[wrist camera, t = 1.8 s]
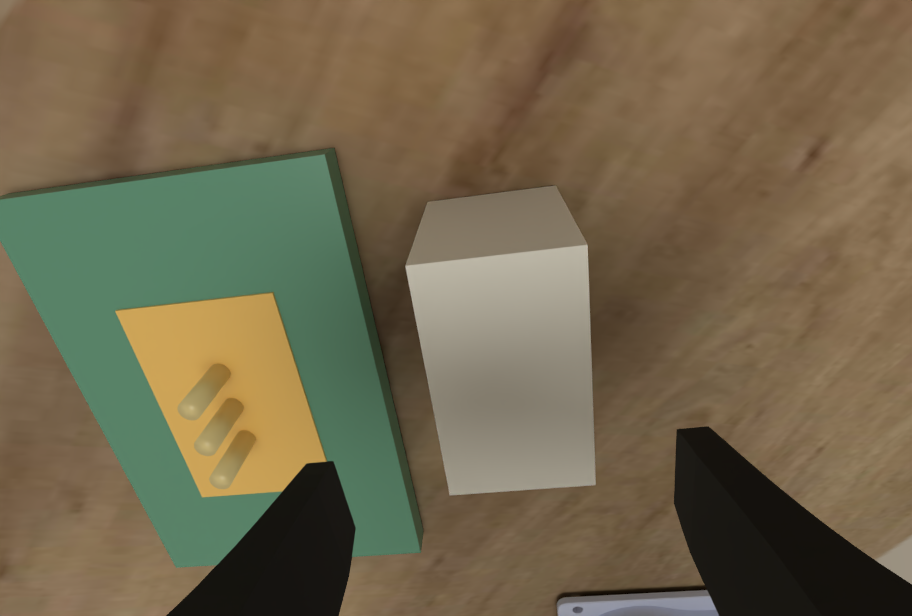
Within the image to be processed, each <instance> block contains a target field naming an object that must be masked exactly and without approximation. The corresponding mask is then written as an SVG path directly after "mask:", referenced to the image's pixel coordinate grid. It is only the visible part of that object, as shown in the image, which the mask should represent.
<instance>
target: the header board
mask: <svg viewBox="0 0 912 616" xmlns="http://www.w3.org/2000/svg"><path fill="white" fill-rule="evenodd" d="M0 241H1V243H2V245H3V247H4V249H5V251H6V252H7V254H8V256H9V258H10V260H11V262H12V264H13V265H14V267H15V269H16V271H17V273H18V275H19V277H20V278H21V280H22V282H23V284H24V286H25V288H26V290H27V291H28V293H29V295H30V297H31V299H32V301H33V303H34V304H35V306H36V308H37V310H38V312H39V314H40V316H41V317H42V319H43V321H44V323H45V325H46V327H47V329H48V330H49V332H50V334H51V336H52V338H53V340H54V342H55V343H56V345H57V347H58V349H59V351H60V353H61V355H62V356H63V358H64V360H65V362H66V364H67V366H68V368H69V369H70V371H71V373H72V375H73V377H74V379H75V381H76V382H77V384H78V386H79V388H80V390H81V392H82V394H83V396H84V397H85V399H86V401H87V403H88V405H89V407H90V409H91V410H92V412H93V414H94V416H95V418H96V420H97V422H98V423H99V425H100V427H101V429H102V431H103V433H104V435H105V436H106V438H107V440H108V442H109V444H110V446H111V448H112V449H113V451H114V453H115V455H116V457H117V459H118V461H119V462H120V464H121V466H122V468H123V470H124V472H125V474H126V475H127V477H128V479H129V481H130V483H131V485H132V487H133V488H134V490H135V492H136V494H137V496H138V498H139V500H140V501H141V503H142V505H143V507H144V509H145V511H146V513H147V514H148V516H149V518H150V520H151V522H152V524H153V526H154V527H155V529H156V531H157V533H158V535H159V537H160V539H161V540H162V542H163V544H164V546H165V548H166V550H167V552H168V553H169V555H170V557H171V559H172V561H173V563H174V565H175V566H176V568H177V567H193V566H209V565H218V563H219V562H220V561H221V560H222V559H223V558H224V557H225V556H226V555H227V554H228V553H229V552H230V551H231V550H232V549H233V548H234V547H235V546H236V544H237V543H238V542H239V541H240V540H241V539H242V538H243V537H244V535H245V534H246V533H247V532H248V531H249V530H250V529H251V527H252V526H253V525H254V524H255V523H256V522H257V521H258V519H259V518H260V517H261V516H262V515H263V514H264V513H265V511H266V510H267V509H268V508H269V507H270V506H271V504H272V503H273V502H274V501H275V500H276V498H277V497H278V496H279V495H280V494H281V493H282V491H283V490H284V489H285V488H286V487H287V485H288V484H289V483H290V482H291V481H292V480H293V478H294V477H295V476H296V475H297V474H298V473H299V471H300V470H301V469H302V468H303V467H304V466H305V465H306V464H307V463H316V462H327V461H334V464H335V467H336V470H337V473H338V476H339V479H340V482H341V485H342V488H343V491H344V494H345V497H346V500H347V503H348V506H349V509H350V512H351V515H352V518H353V521H354V524H355V527H356V530H355V538H354V545H353V553H352V557H357V556H373V555H390V554H406V553H421V547H422V539H423V527H422V523H421V519H420V514H419V510H418V506H417V502H416V497H415V493H414V489H413V484H412V480H411V476H410V471H409V467H408V463H407V459H406V454H405V450H404V446H403V441H402V437H401V433H400V428H399V424H398V420H397V416H396V411H395V407H394V403H393V398H392V394H391V390H390V385H389V381H388V377H387V373H386V368H385V364H384V360H383V355H382V351H381V347H380V342H379V338H378V334H377V330H376V325H375V321H374V317H373V312H372V308H371V304H370V300H369V295H368V291H367V287H366V282H365V278H364V274H363V269H362V265H361V261H360V257H359V252H358V248H357V244H356V239H355V235H354V231H353V226H352V222H351V218H350V214H349V209H348V205H347V201H346V196H345V192H344V188H343V183H342V179H341V175H340V171H339V166H338V162H337V158H336V153H335V149H334V148H330V149H323V150H316V151H308V152H301V153H294V154H287V155H280V156H273V157H266V158H259V159H251V160H244V161H237V162H230V163H223V164H216V165H209V166H202V167H195V168H187V169H180V170H173V171H166V172H159V173H152V174H145V175H138V176H130V177H123V178H116V179H109V180H102V181H95V182H88V183H81V184H74V185H66V186H59V187H52V188H45V189H38V190H31V191H24V192H17V193H10V194H6V195H2V196H0Z"/></svg>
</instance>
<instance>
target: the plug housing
mask: <svg viewBox="0 0 912 616" xmlns="http://www.w3.org/2000/svg"><path fill="white" fill-rule="evenodd" d="M405 267H406V272H407V277H408V283H409V288H410V293H411V298H412V303H413V308H414V313H415V319H416V324H417V329H418V334H419V339H420V344H421V349H422V355H423V360H424V365H425V370H426V375H427V380H428V385H429V391H430V396H431V401H432V406H433V411H434V416H435V421H436V427H437V432H438V437H439V442H440V447H441V452H442V457H443V463H444V468H445V473H446V478H447V483H448V488H449V493H450V495H463V494H477V493H491V492H505V491H519V490H533V489H546V488H560V487H574V486H588V485H596V479H595V450H594V420H593V390H592V360H591V331H590V301H589V271H588V244H587V243H586V241H585V239H584V237H583V235H582V233H581V231H580V230H579V228H578V226H577V224H576V222H575V220H574V218H573V217H572V215H571V213H570V211H569V209H568V207H567V205H566V204H565V202H564V200H563V198H562V196H561V194H560V192H559V191H558V189H557V187H556V185H555V186H547V187H540V188H532V189H524V190H516V191H508V192H500V193H493V194H485V195H477V196H469V197H461V198H453V199H446V200H438V201H430V202H427V205H426V208H425V211H424V213H423V216H422V219H421V222H420V225H419V228H418V231H417V234H416V236H415V239H414V242H413V245H412V248H411V251H410V254H409V257H408V259H407V262H406V265H405Z"/></svg>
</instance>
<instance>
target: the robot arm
mask: <svg viewBox="0 0 912 616" xmlns="http://www.w3.org/2000/svg"><path fill="white" fill-rule="evenodd" d="M674 505H675V508H676V511H677V514H678V517H679V520H680V524H681V527H682V530H683V533H684V536H685V539H686V542H687V545H688V547H689V550H690V553H691V555H692V558H693V560H694V562H695V564H696V567H697V569H698V571H699V573H700V575H701V578H702V580H703V582H704V584H705V586H706V588H707V590H697V591H677V592H658V593H638V594H619V595H599V596H579V597H564V598H561V599H559V601H558V602H557V614H558V616H912V584H910V583H908V582H907V581H906V580H904V579H902V578H901V577H899V576H898V575H896V574H895V573H893V572H892V571H890V570H889V569H887V568H886V567H884V566H882V565H881V564H879V563H878V562H877V561H875V560H874V559H872V558H871V557H869V556H868V555H867V554H865V553H864V552H862V551H861V550H859V549H858V548H857V547H855V546H854V545H852V544H851V543H850V542H848V541H847V540H846V539H844V538H843V537H842V536H840V535H839V534H838V533H836V532H835V531H834V530H832V529H831V528H829V527H828V526H827V525H825V524H824V523H823V522H822V521H820V520H819V519H818V518H816V517H815V516H814V515H813V514H811V513H810V512H809V511H807V510H806V509H805V508H804V507H802V506H801V505H800V504H799V503H798V502H796V501H795V500H794V499H793V498H791V497H790V496H789V495H788V494H786V493H785V492H784V491H783V490H781V489H780V488H779V487H778V486H777V485H775V484H774V483H773V482H772V481H771V480H769V479H768V478H767V477H766V476H765V475H764V474H762V473H761V472H760V471H759V470H758V469H757V468H755V467H754V466H753V465H752V464H751V463H750V462H748V461H747V460H746V459H745V458H744V457H743V456H742V455H740V454H739V453H738V452H737V451H736V450H735V449H734V448H732V447H731V446H730V445H729V444H728V443H727V442H726V441H725V440H723V439H722V438H721V437H720V436H719V435H718V434H717V433H715V432H714V431H713V430H712V429H711V428H709V427H697V428H687V429H677V438H676V464H675V491H674ZM355 530H356V527H355V524H354V521H353V518H352V515H351V512H350V509H349V506H348V503H347V500H346V497H345V494H344V491H343V488H342V485H341V482H340V479H339V476H338V473H337V470H336V467H335V464H334V461H327V462H316V463H307V464H306V465H305V466H304V467H303V468H302V469H301V470H300V471H299V473H298V474H297V475H296V476H295V477H294V478H293V480H292V481H291V482H290V483H289V484H288V485H287V487H286V488H285V489H284V490H283V491H282V493H281V494H280V495H279V496H278V497H277V498H276V500H275V501H274V502H273V503H272V504H271V506H270V507H269V508H268V509H267V510H266V511H265V513H264V514H263V515H262V516H261V517H260V518H259V519H258V521H257V522H256V523H255V524H254V525H253V526H252V527H251V529H250V530H249V531H248V532H247V533H246V534H245V535H244V537H243V538H242V539H241V540H240V541H239V542H238V543H237V544H236V546H235V547H234V548H233V549H232V550H231V551H230V552H229V553H228V554H227V555H226V556H225V557H224V558H223V559H222V560H221V561H220V562H219V563H218V565H217V566H216V567H215V568H214V569H213V570H212V571H211V572H210V573H209V574H208V575H207V576H206V577H205V578H204V579H203V580H202V581H201V583H200V584H199V585H198V586H197V587H196V588H195V589H194V590H193V591H192V592H191V593H190V594H189V595H188V596H186V597H185V598H184V599H183V600H182V601H181V602H180V603H179V604H178V605H177V606H176V607H175V608H174V609H173V610H172V611H171V612H170V613H169V614H167V615H166V616H339V612H340V608H341V604H342V601H343V597H344V593H345V589H346V585H347V581H348V577H349V572H350V566H351V559H352V553H353V545H354V538H355Z"/></svg>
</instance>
